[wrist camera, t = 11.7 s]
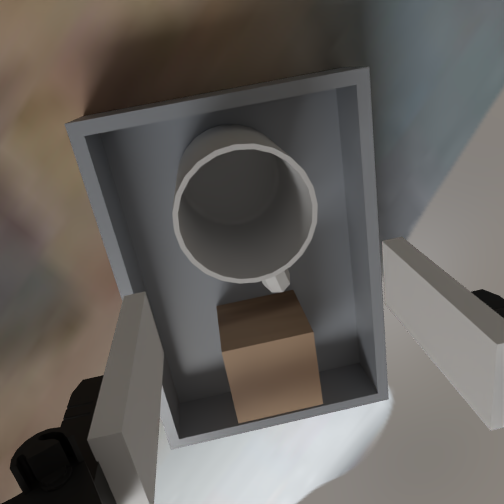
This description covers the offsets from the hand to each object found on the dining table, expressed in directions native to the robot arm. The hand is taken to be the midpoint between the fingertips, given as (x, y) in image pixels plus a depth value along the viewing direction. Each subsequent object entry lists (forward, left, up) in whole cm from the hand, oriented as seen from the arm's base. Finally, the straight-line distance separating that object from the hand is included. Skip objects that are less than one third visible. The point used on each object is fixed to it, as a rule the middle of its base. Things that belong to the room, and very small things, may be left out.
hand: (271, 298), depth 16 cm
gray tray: (+5, 0, -16) cm, 17 cm away
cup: (0, 0, -16) cm, 16 cm away
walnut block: (+11, 0, -15) cm, 19 cm away
